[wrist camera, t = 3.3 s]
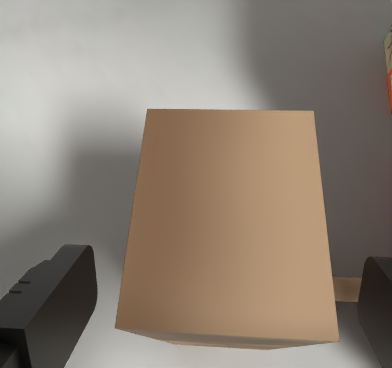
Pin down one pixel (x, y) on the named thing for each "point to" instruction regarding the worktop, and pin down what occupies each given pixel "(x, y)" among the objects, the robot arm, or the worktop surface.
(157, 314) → the wooden mallet
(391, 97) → the stack of blocks
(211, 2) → the worktop surface
